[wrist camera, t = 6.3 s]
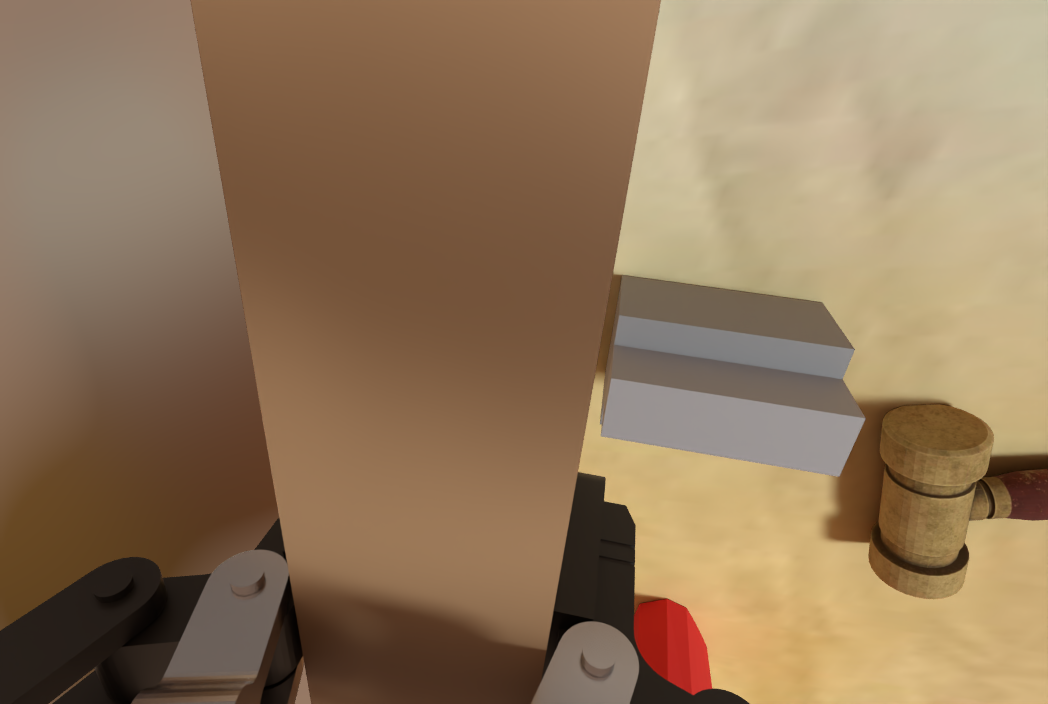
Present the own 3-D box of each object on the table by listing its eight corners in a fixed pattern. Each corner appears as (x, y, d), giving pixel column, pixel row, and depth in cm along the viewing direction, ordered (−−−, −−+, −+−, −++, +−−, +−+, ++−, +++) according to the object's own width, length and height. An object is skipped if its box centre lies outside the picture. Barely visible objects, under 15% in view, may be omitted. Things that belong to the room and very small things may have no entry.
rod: (394, -229, 8) (97, -539, 4) (691, -214, 7) (757, -549, 3) (411, 723, 20) (347, 915, 16) (525, 751, 19) (492, 956, 15)
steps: (622, 275, 30) (617, 346, 23) (822, 302, 29) (880, 386, 22) (605, 373, 33) (596, 462, 26) (786, 401, 32) (827, 503, 25)
